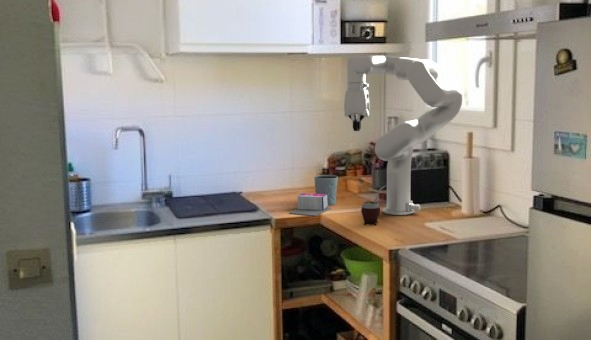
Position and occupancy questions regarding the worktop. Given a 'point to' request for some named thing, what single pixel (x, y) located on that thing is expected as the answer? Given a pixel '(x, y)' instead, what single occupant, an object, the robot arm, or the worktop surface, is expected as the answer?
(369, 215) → the mate gourd
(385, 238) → the worktop surface
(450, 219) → the worktop surface
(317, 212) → the mat
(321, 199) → the supplement box
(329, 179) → the grey plant pot
